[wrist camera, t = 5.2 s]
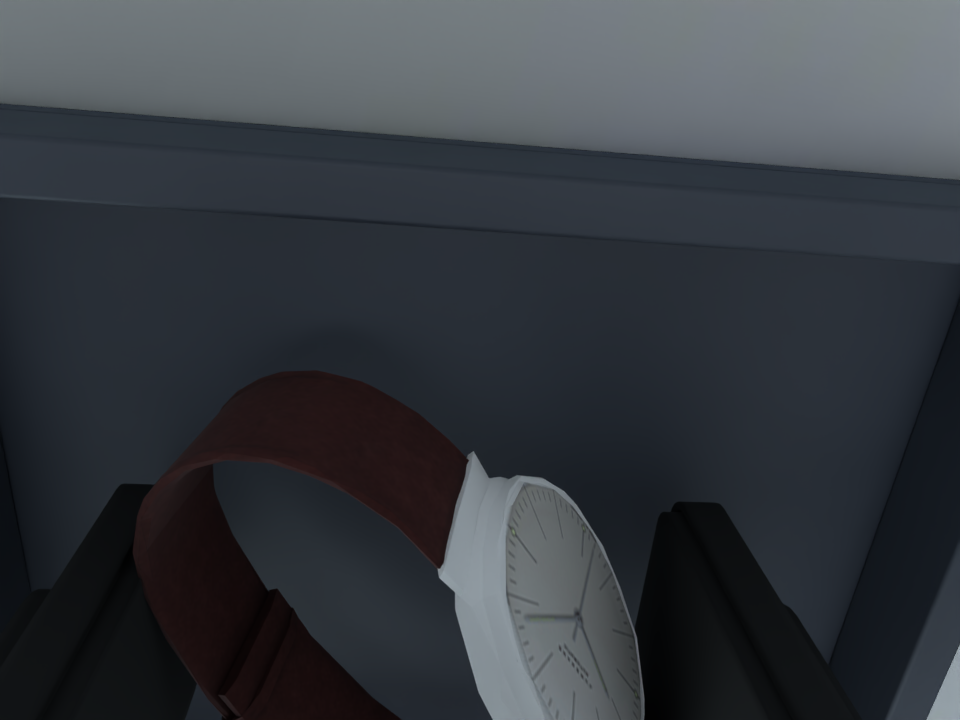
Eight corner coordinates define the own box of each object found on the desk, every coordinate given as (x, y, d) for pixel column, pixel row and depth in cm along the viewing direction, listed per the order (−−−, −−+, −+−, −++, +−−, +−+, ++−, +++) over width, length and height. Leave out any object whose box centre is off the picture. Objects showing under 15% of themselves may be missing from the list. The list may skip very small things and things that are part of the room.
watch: (704, 680, 11) (822, 955, 8) (435, 813, 12) (441, 1113, 9) (408, 253, 8) (399, 407, 5) (80, 463, 9) (-116, 714, 6)
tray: (43, 767, 13) (-17, 885, 11) (-97, 95, 8) (-233, 116, 7) (802, 776, 14) (855, 885, 12) (1021, 184, 10) (1150, 222, 8)
